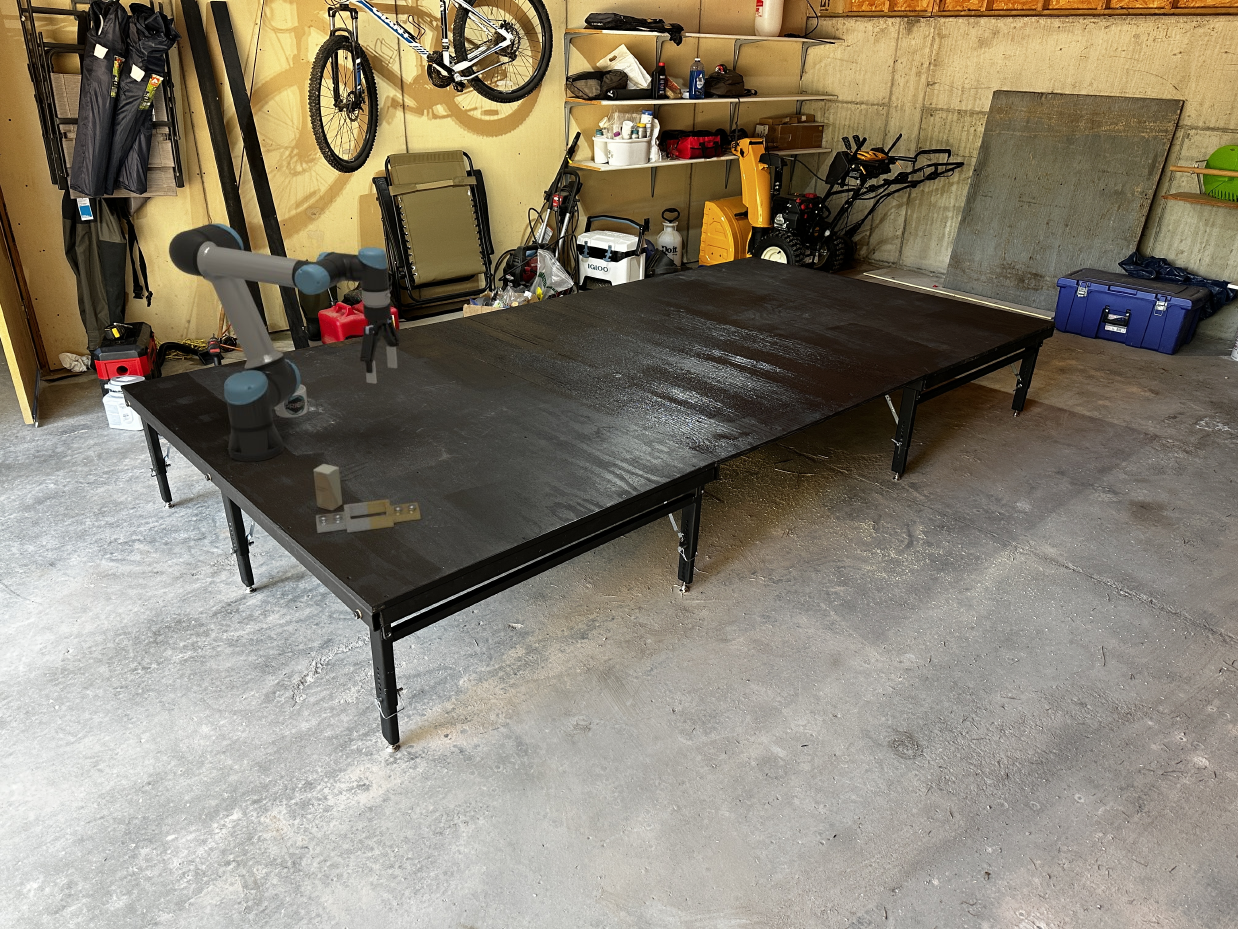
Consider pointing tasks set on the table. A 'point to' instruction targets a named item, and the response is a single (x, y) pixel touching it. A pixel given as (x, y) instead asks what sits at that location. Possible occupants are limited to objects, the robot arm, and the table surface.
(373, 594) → the table surface
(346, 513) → the link
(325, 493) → the box
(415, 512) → the link
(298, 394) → the mug
